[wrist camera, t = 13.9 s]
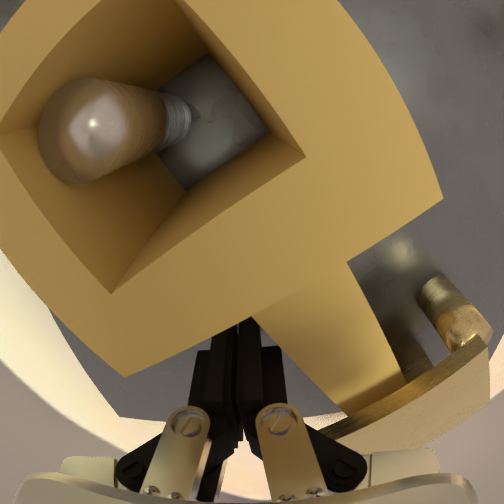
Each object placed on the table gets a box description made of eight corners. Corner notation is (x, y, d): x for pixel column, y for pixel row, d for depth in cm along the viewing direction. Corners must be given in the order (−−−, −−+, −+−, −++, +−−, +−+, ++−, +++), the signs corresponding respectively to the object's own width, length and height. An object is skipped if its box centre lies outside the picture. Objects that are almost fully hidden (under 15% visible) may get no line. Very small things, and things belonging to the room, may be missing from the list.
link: (77, 116, 8) (-57, 144, 3) (221, -2, 6) (190, -115, 1) (322, 398, 15) (340, 489, 9) (421, 346, 13) (466, 431, 8)
